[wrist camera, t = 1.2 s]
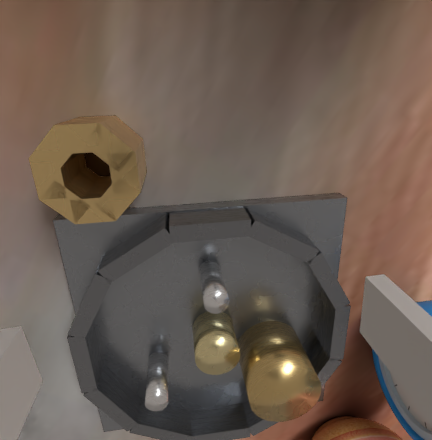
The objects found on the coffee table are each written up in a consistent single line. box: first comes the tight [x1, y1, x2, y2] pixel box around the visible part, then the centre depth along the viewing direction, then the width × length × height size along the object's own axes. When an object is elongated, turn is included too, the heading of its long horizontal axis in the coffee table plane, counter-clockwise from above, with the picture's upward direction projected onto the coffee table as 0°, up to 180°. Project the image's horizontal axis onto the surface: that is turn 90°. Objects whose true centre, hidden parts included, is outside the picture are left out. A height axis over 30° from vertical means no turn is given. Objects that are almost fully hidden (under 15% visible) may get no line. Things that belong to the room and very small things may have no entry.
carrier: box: [53, 193, 351, 440], centre depth 30 cm, size 25×25×8 cm
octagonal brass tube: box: [29, 115, 147, 224], centre depth 24 cm, size 6×6×6 cm
